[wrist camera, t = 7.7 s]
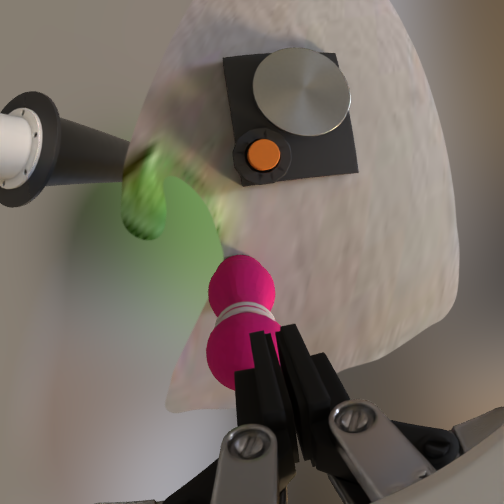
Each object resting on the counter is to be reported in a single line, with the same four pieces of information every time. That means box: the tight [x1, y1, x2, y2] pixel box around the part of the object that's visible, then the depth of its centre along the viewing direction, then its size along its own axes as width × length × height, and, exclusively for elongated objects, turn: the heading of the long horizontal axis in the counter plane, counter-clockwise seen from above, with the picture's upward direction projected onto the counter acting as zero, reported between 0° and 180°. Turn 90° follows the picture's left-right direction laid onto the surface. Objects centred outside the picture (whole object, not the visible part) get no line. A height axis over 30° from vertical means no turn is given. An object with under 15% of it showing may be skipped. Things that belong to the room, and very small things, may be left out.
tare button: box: [247, 139, 280, 171], centre depth 28 cm, size 3×3×2 cm
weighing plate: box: [252, 48, 350, 137], centre depth 26 cm, size 11×11×1 cm
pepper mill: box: [206, 255, 281, 390], centre depth 25 cm, size 7×7×20 cm
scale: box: [223, 53, 359, 187], centre depth 28 cm, size 15×16×3 cm
